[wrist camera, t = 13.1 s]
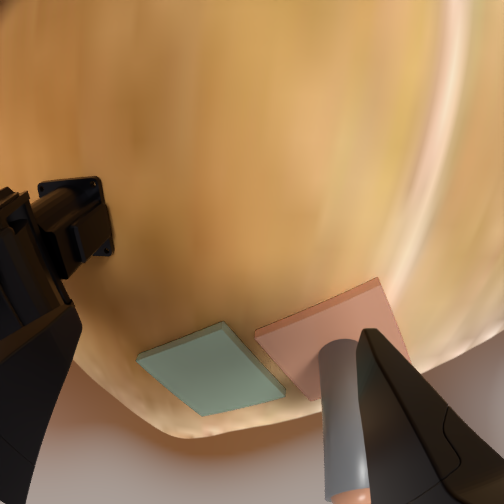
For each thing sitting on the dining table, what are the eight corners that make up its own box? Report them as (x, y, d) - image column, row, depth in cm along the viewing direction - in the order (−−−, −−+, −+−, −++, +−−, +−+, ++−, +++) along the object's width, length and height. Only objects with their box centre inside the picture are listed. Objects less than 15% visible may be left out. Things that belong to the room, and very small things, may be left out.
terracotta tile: (310, 393, 30) (310, 401, 29) (255, 330, 26) (254, 338, 25) (409, 356, 26) (411, 364, 26) (377, 277, 22) (380, 284, 21)
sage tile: (203, 409, 33) (202, 416, 33) (138, 354, 29) (135, 361, 28) (285, 389, 30) (285, 396, 29) (223, 320, 26) (221, 329, 25)
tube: (310, 363, 26) (313, 518, 14) (332, 333, 24) (349, 505, 12) (348, 372, 26) (363, 517, 14) (371, 344, 25) (401, 501, 12)
